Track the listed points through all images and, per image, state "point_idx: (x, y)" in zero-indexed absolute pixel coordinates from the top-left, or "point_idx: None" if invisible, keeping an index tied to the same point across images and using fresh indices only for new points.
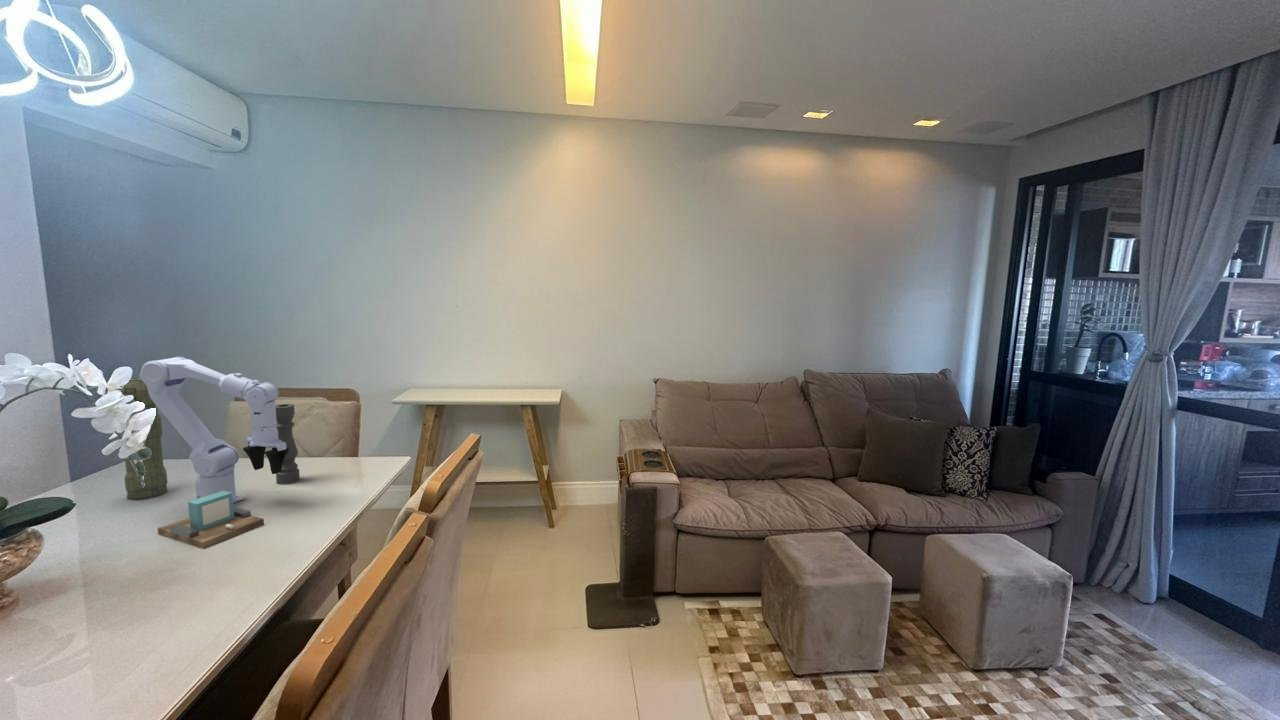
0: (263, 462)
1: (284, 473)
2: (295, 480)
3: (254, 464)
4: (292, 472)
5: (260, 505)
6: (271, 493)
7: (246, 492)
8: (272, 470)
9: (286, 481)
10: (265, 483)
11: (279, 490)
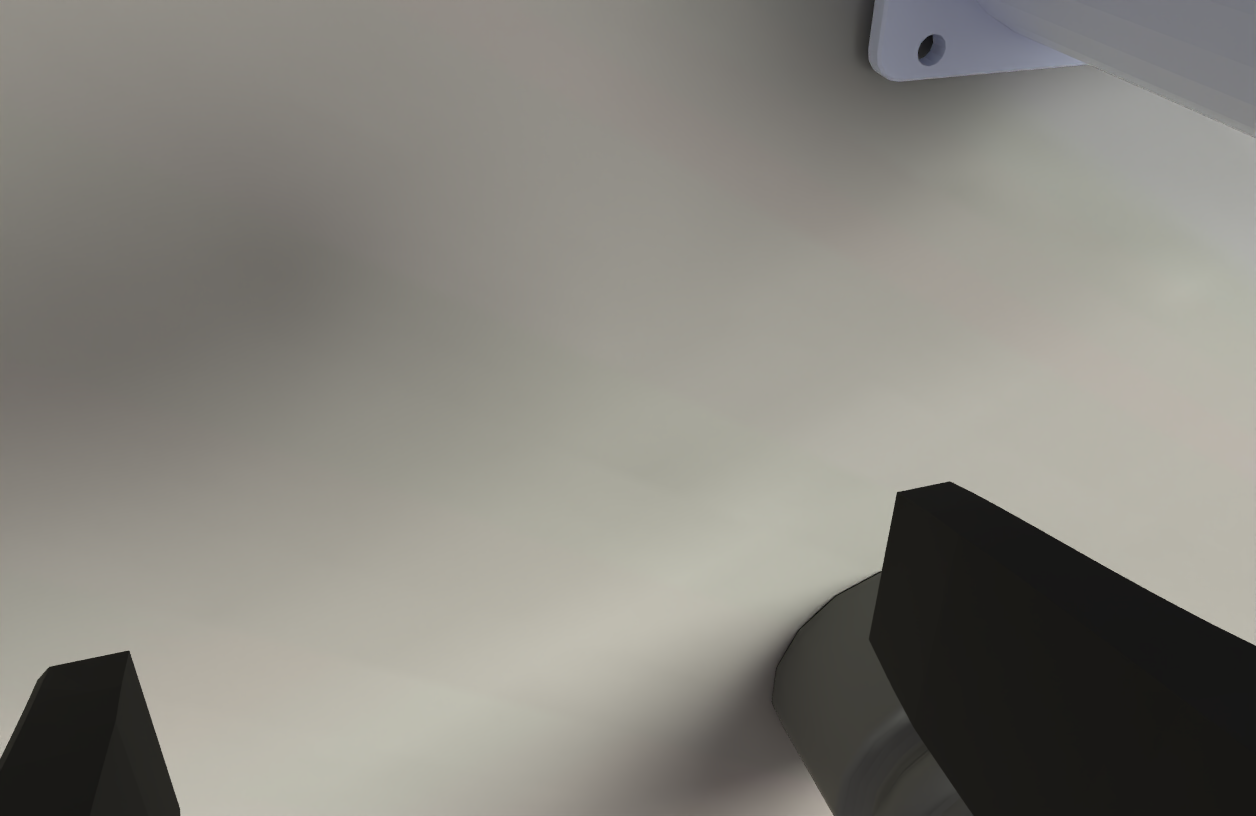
0: (948, 770)
1: (909, 720)
2: (782, 709)
3: (1015, 593)
4: (847, 784)
5: (364, 66)
6: (706, 398)
7: (1053, 234)
8: (4, 762)
9: (831, 643)
10: (1064, 490)
11: (707, 498)
